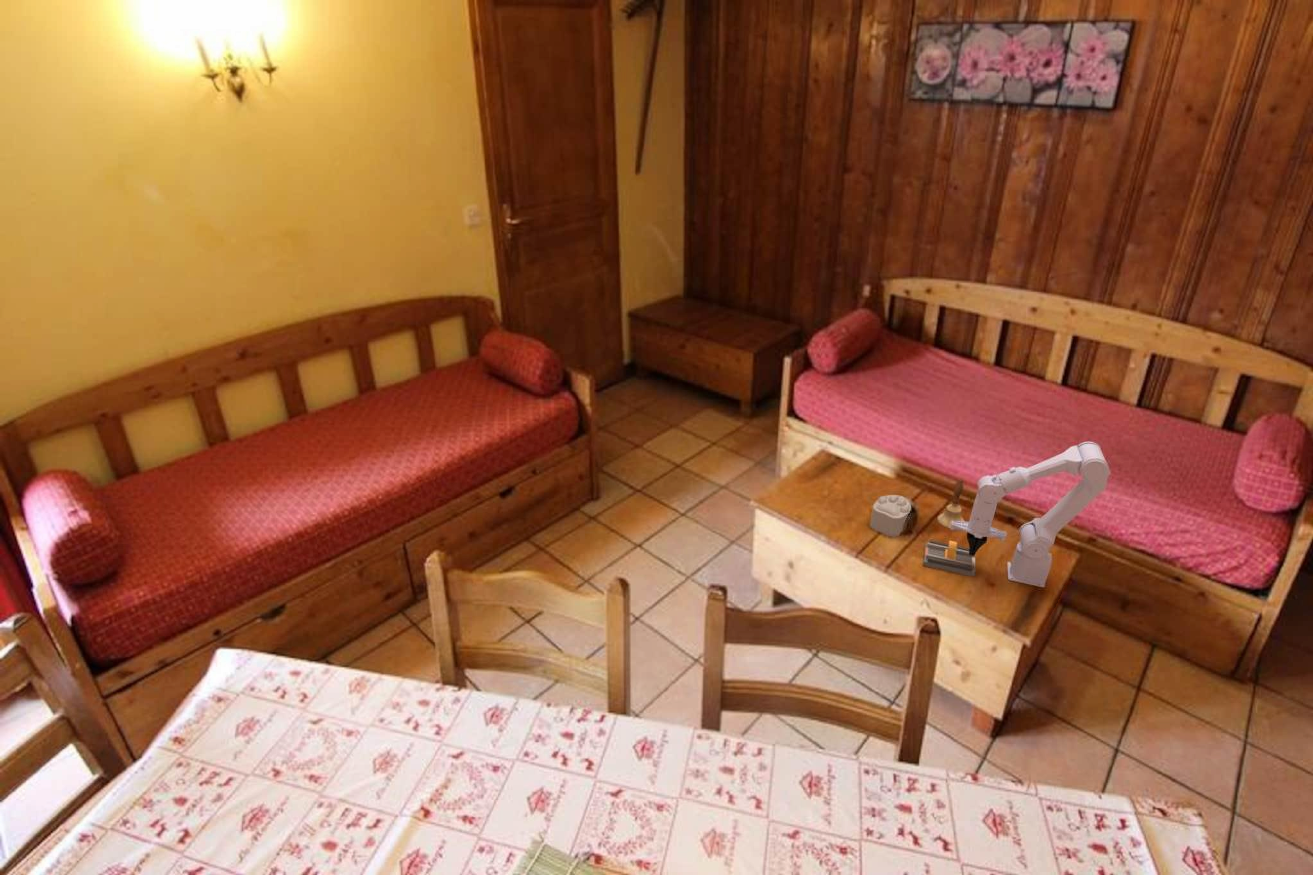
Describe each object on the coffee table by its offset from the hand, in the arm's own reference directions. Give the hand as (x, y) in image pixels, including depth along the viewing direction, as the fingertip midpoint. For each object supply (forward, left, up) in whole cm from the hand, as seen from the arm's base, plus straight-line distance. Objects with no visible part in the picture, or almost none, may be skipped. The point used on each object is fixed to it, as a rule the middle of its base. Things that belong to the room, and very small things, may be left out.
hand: (971, 553), depth 209 cm
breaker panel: (+5, 0, -4) cm, 7 cm away
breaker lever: (+5, 0, -3) cm, 6 cm away
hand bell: (+5, -21, -5) cm, 22 cm away
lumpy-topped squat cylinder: (+23, -13, -5) cm, 27 cm away
